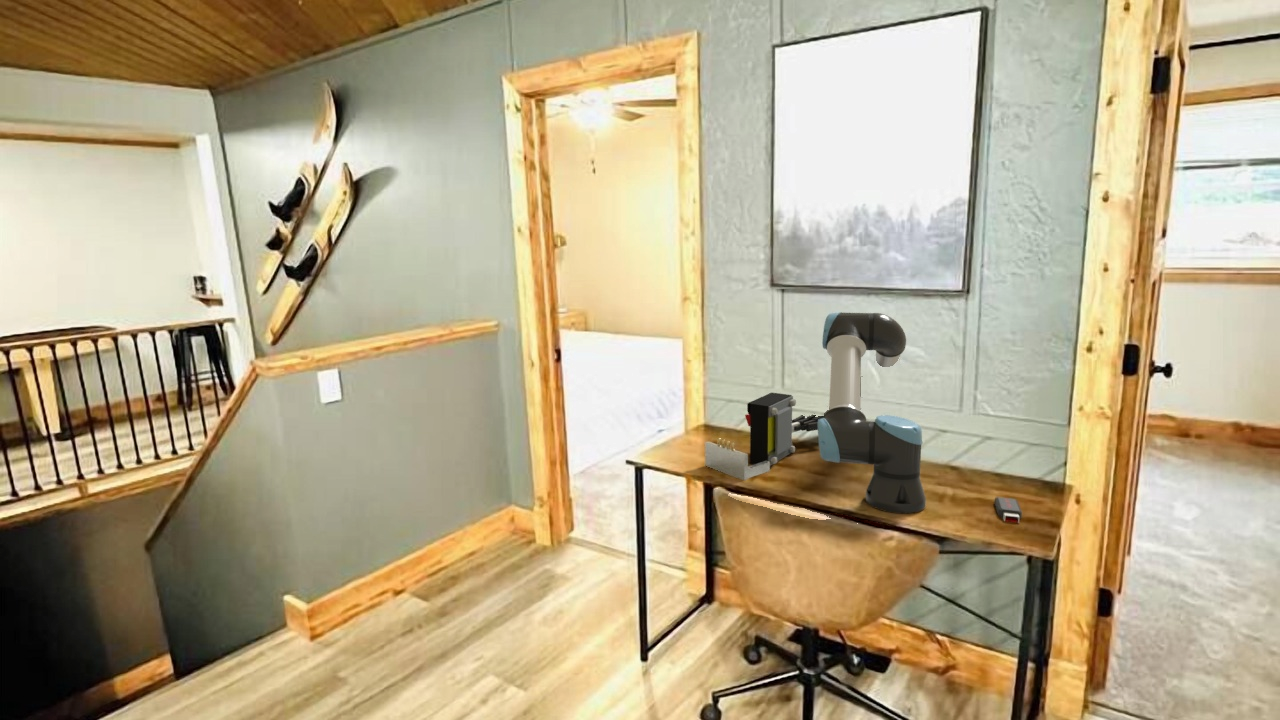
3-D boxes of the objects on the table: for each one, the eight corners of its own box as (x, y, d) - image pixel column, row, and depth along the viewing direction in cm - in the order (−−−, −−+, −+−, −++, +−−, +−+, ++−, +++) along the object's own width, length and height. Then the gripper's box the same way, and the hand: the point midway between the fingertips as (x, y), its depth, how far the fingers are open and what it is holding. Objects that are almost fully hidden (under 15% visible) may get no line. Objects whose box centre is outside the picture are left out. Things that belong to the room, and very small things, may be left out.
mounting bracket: (770, 471, 203) (771, 439, 201) (744, 480, 196) (744, 447, 194) (731, 458, 217) (731, 427, 215) (705, 466, 209) (705, 435, 207)
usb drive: (1016, 506, 173) (1017, 497, 173) (1023, 525, 163) (1024, 514, 162) (994, 504, 175) (994, 494, 175) (999, 522, 164) (1000, 511, 164)
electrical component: (773, 468, 206) (774, 406, 202) (744, 462, 212) (745, 402, 209) (796, 453, 220) (797, 395, 216) (769, 448, 226) (769, 392, 222)
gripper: (844, 431, 230) (801, 444, 216) (813, 423, 240) (770, 436, 226) (844, 410, 229) (801, 422, 214) (814, 404, 239) (771, 415, 225)
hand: (785, 429), depth 220 cm, fingers closed
